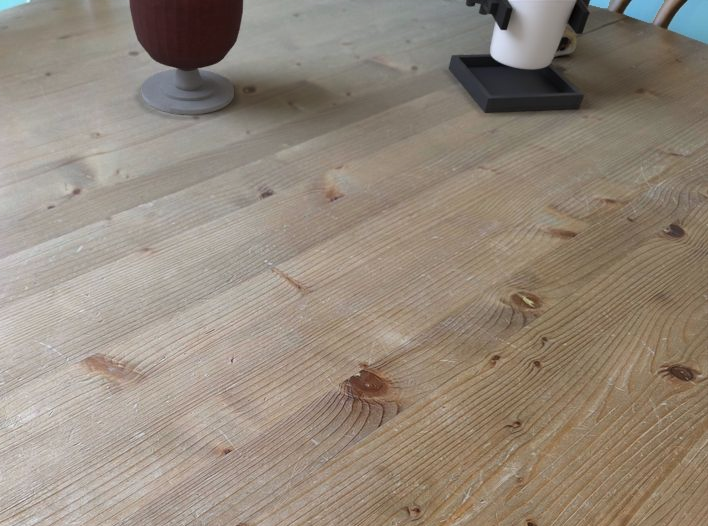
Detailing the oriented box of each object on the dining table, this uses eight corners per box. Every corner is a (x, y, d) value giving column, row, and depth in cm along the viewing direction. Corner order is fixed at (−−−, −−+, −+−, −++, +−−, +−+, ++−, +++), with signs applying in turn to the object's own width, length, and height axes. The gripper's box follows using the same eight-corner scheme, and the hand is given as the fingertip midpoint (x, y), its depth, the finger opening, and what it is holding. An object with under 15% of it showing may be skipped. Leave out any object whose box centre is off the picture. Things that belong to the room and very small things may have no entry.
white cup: (478, 63, 100) (504, -33, 91) (489, 37, 106) (514, -56, 98) (553, 78, 97) (587, -20, 89) (560, 50, 104) (592, -43, 95)
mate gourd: (120, 80, 102) (107, -85, 88) (212, 64, 106) (214, -95, 92) (164, 131, 92) (158, -45, 78) (264, 111, 97) (274, -59, 83)
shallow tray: (535, 66, 110) (539, 52, 109) (579, 108, 101) (584, 94, 100) (448, 68, 109) (451, 55, 107) (484, 112, 99) (488, 98, 98)
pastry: (507, 35, 118) (515, 10, 116) (544, 33, 120) (553, 8, 117) (539, 60, 112) (548, 34, 109) (578, 57, 114) (587, 31, 111)
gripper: (567, -8, 113) (618, 55, 97) (424, -15, 112) (452, 46, 96) (585, -63, 108) (642, -6, 92) (435, -71, 107) (466, -15, 91)
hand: (544, 21), depth 94 cm, fingers closed on white cup, 9 cm apart
